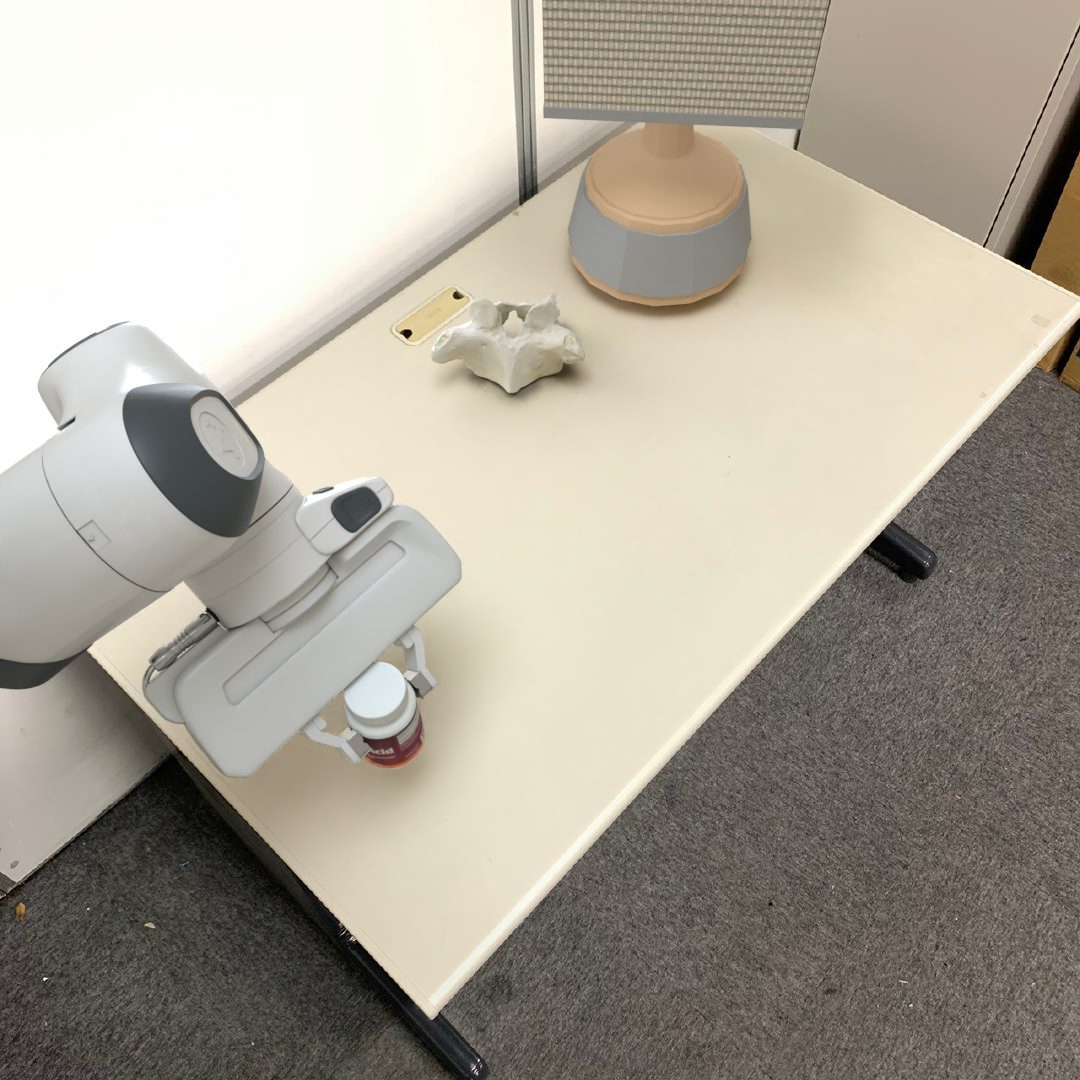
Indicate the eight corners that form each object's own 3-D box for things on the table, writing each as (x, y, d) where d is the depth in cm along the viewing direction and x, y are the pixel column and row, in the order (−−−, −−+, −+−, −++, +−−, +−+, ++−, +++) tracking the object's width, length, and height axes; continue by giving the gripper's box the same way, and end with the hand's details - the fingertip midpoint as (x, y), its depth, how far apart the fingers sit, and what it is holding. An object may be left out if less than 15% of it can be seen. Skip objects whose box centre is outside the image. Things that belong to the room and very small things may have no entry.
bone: (580, 392, 97) (590, 342, 90) (440, 416, 95) (438, 367, 88) (558, 320, 101) (565, 266, 94) (422, 341, 99) (419, 288, 91)
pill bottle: (346, 753, 70) (322, 703, 63) (382, 698, 72) (363, 644, 65) (403, 783, 69) (385, 736, 62) (438, 726, 71) (425, 674, 64)
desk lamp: (758, 205, 110) (831, -176, 80) (760, 327, 100) (846, -57, 69) (563, 195, 112) (562, -181, 82) (546, 315, 102) (537, -66, 71)
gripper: (134, 682, 55) (289, 852, 59) (400, 462, 63) (520, 625, 68) (116, 671, 60) (260, 827, 65) (364, 469, 69) (477, 620, 73)
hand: (395, 722), depth 66 cm, fingers closed on pill bottle, 5 cm apart
